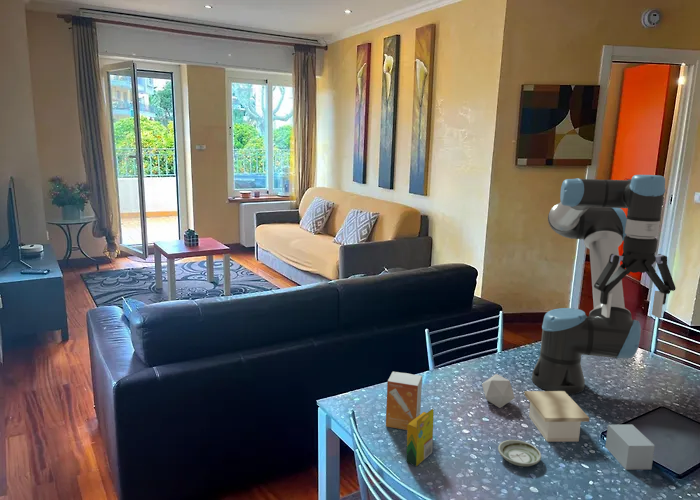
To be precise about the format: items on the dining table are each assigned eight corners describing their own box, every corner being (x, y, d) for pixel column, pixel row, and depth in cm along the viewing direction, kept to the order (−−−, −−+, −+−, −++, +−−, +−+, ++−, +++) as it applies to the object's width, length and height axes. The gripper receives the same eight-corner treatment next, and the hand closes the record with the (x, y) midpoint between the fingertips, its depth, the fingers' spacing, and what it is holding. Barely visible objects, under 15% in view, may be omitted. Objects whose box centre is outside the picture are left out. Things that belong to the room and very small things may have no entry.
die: (519, 409, 146) (515, 374, 150) (508, 404, 140) (504, 369, 144) (491, 411, 150) (488, 377, 154) (479, 407, 144) (476, 372, 148)
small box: (385, 427, 134) (386, 380, 132) (390, 415, 140) (392, 370, 138) (416, 432, 132) (418, 385, 129) (420, 420, 138) (422, 375, 135)
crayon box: (422, 448, 125) (424, 403, 123) (432, 452, 124) (435, 408, 121) (405, 462, 120) (407, 416, 117) (416, 467, 118) (418, 420, 116)
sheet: (544, 421, 126) (545, 418, 126) (524, 394, 140) (524, 391, 140) (589, 421, 127) (589, 417, 127) (564, 394, 141) (564, 391, 140)
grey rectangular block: (625, 469, 118) (628, 445, 117) (605, 446, 127) (608, 424, 126) (651, 469, 118) (654, 445, 117) (629, 446, 127) (632, 424, 126)
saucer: (516, 477, 115) (517, 467, 115) (488, 453, 124) (489, 444, 123) (549, 466, 119) (550, 457, 118) (520, 444, 128) (521, 435, 127)
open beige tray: (547, 441, 129) (549, 419, 128) (529, 416, 140) (530, 396, 139) (578, 441, 129) (581, 419, 128) (558, 416, 141) (560, 396, 140)
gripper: (600, 238, 127) (591, 320, 131) (699, 239, 128) (686, 320, 132) (585, 233, 135) (577, 311, 139) (679, 234, 135) (668, 311, 140)
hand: (630, 316), depth 136 cm, fingers open, 13 cm apart
